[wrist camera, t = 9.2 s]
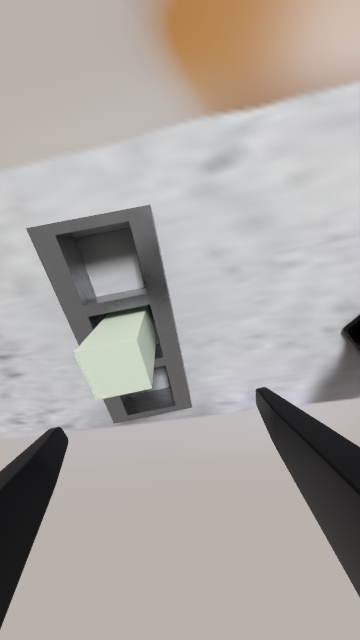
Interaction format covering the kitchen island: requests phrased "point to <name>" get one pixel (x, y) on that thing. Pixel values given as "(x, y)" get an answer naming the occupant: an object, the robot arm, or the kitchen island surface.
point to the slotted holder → (117, 300)
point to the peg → (119, 353)
